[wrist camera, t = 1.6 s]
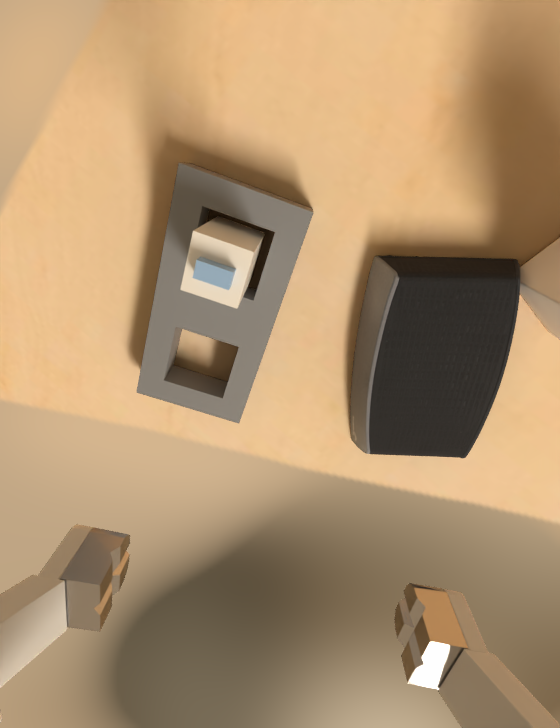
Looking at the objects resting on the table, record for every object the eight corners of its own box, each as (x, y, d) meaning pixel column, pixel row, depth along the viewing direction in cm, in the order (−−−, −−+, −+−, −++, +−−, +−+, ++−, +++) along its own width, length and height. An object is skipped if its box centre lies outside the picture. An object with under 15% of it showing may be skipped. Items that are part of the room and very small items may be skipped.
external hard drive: (343, 436, 41) (347, 462, 37) (365, 253, 32) (373, 264, 28) (466, 442, 40) (482, 469, 37) (523, 257, 31) (552, 269, 28)
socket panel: (190, 163, 29) (178, 162, 26) (312, 208, 30) (313, 212, 27) (148, 376, 38) (136, 392, 35) (243, 405, 39) (239, 423, 36)
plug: (218, 216, 31) (188, 233, 23) (265, 232, 31) (252, 255, 23) (207, 263, 33) (175, 294, 25) (251, 278, 33) (234, 313, 25)
